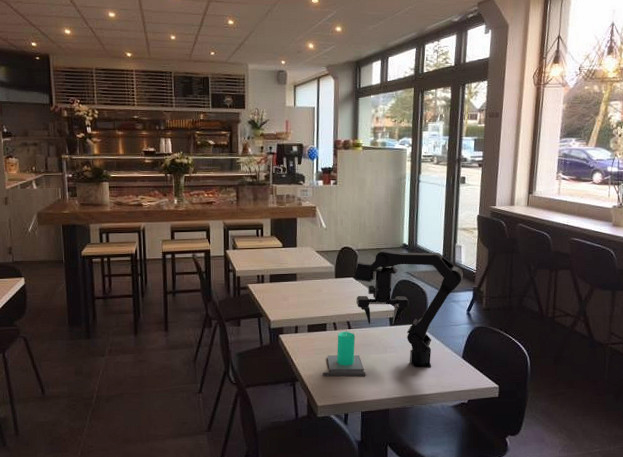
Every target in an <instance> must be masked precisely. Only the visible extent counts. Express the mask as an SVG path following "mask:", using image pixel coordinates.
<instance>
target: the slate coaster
mask: <svg viewBox="0 0 623 457" xmlns="http://www.w3.org/2000/svg"><path fill="white" fill-rule="evenodd" d="M326 357H327V362H328V363H327V365H328V369H329V372H365V369H364V365H363V363H362V359H361V357H360V354H359V355H358V354H357V355H356V354H354V363H353V364H352V365H340V364H339V363H338V362H337V355H336V354H335V355H331V354H330V355H328V354H327V356H326Z"/></svg>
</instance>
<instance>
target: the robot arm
mask: <svg viewBox="0 0 623 457" xmlns="http://www.w3.org/2000/svg"><path fill="white" fill-rule="evenodd" d="M356 265H357V266H356V268H355V272H354V279H355V281H357V282H358V281H359V282H364V283H365V282H366V283H372V281H374V280H375V286H374V285H368V288H367V290H368V294H369V295H372V296H373V298H369V296H368V295H358V296H356V305H357V307H358V308H360V309H361V310H362V311H364V312H365V316H366V319H367V323H368V325H371V309H370V305H394V307H393V308H394V311H393V317H392V324H393V325H395V324H396V322H397V321H398V318H399V316H400V315H401V313H402V312H403V311H405V310H406V309H408V308H409V307H410V302H409V299H408V298H407V297H406V296H398V295H397V296H395V298H393V299H392V298H391V295H392V279H393V278H392V275H393V274H394V275H395V274H397V273H398V269H397V268H396V267H395V266H397V265H398V266H399V265H417V266H418V265H419V266H423V265H424V266H433V267H434V269H436V270H437V271H438V273H439V274H440V275H441V277H442V278H443V279H442V281H441V285H440V287H439V288H438V289H439V290H438V291H437V292H436V294H435V296H434V297H433V299H432V301H431V302H430V304H429V305H428V307H427V309H426V310H425V312H424V313H423V315H422V317H421V318H420V319H417V318H415V319H414V320H413V322H412V324H411V325H410V326H409V327H408V330H407V336H406V339H407V341H408V343H409V344H410V345H411V349H410V351H409V361H410V363H411V364H412V367H413V368H421V367H422V368H423V367H424V368H431V367H432V364H431V355H432V354H431V353H432V351H431V350H432V349H431V347H430V345H431V342H432V339H431V338H430V336H429V335H428V334H427V332H428V330H429V327H430V325H431V324H432V322H433V321H434V318H435V317H436V315H437V314H438V312H439V310H440V309H441V307H442V306H443V304H444V302H446V299H447V298H448V296H449V295H450V294H452V292H453V291H454V290H455V289H456V288H457V287H458V286H459V285H460V283H461V282H462V279H463V276H464V273H463V270H462V269H461V268H460V267H458V266H455V265H453V264H452V262H450V261H449V260H448V259H447V258H445V257H444V256H443V255H442V254H441V253H439V252H434V253H433V252H429V253H428V252H402V251H398V250H394V249H389V248H384V249H381V250H380V251H379V252H378V253H376V255H375V258H374V261H373V262H372V263H364V262H357V264H356Z"/></svg>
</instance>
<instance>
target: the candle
mask: <svg viewBox="0 0 623 457" xmlns="http://www.w3.org/2000/svg"><path fill="white" fill-rule="evenodd" d="M354 355H355V334H354V333H352V332H349V331H348V330H346V331H341V332H339V333H338V334H337V362H338V363H339V364H340V365H352V364H353V363H354Z"/></svg>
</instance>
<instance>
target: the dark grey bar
mask: <svg viewBox="0 0 623 457" xmlns="http://www.w3.org/2000/svg"><path fill="white" fill-rule="evenodd" d="M322 376H323V377H366V372H365V371H364V372H330V371H328V372H327V371H326V372H325V371H324V372H322Z"/></svg>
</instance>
